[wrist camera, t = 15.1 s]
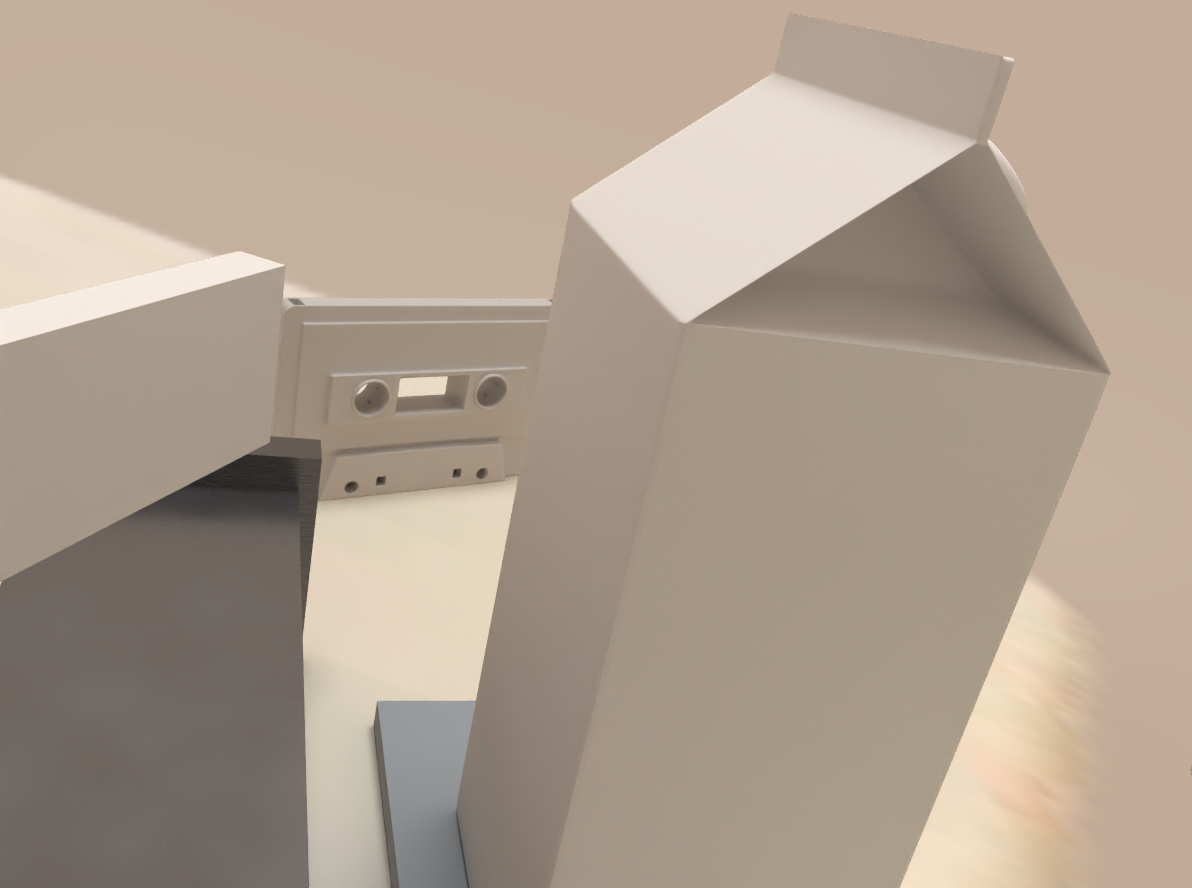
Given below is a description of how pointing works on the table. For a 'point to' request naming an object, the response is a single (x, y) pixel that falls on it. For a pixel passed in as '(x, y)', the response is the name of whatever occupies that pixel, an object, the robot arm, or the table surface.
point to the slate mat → (423, 789)
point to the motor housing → (165, 690)
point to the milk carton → (775, 485)
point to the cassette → (414, 423)
